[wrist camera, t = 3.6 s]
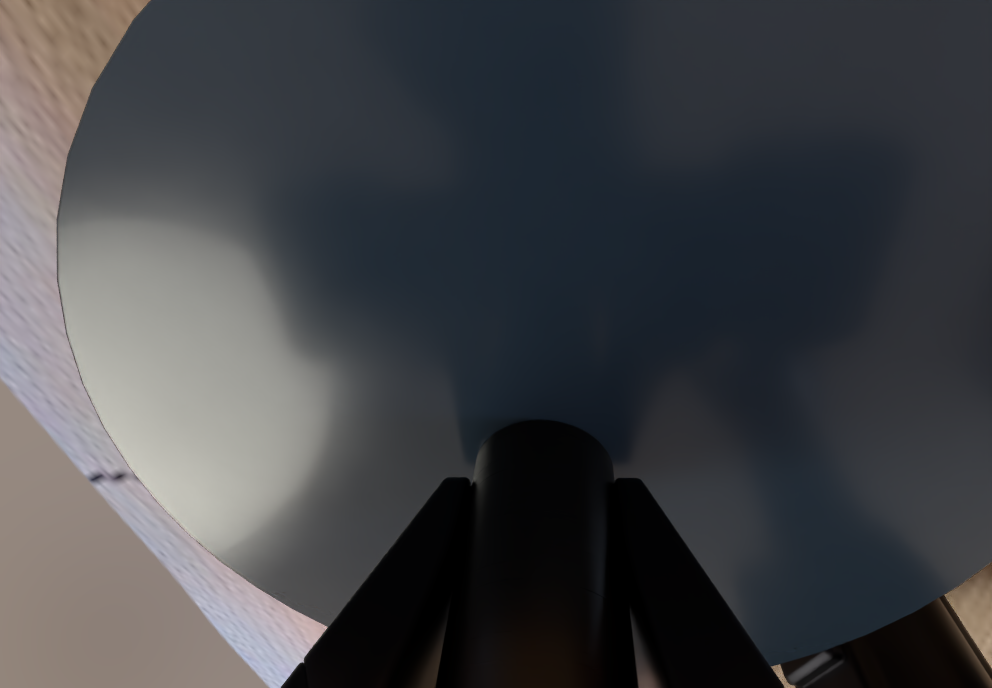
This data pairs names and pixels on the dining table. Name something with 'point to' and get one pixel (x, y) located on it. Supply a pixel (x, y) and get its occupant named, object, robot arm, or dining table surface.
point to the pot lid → (550, 302)
